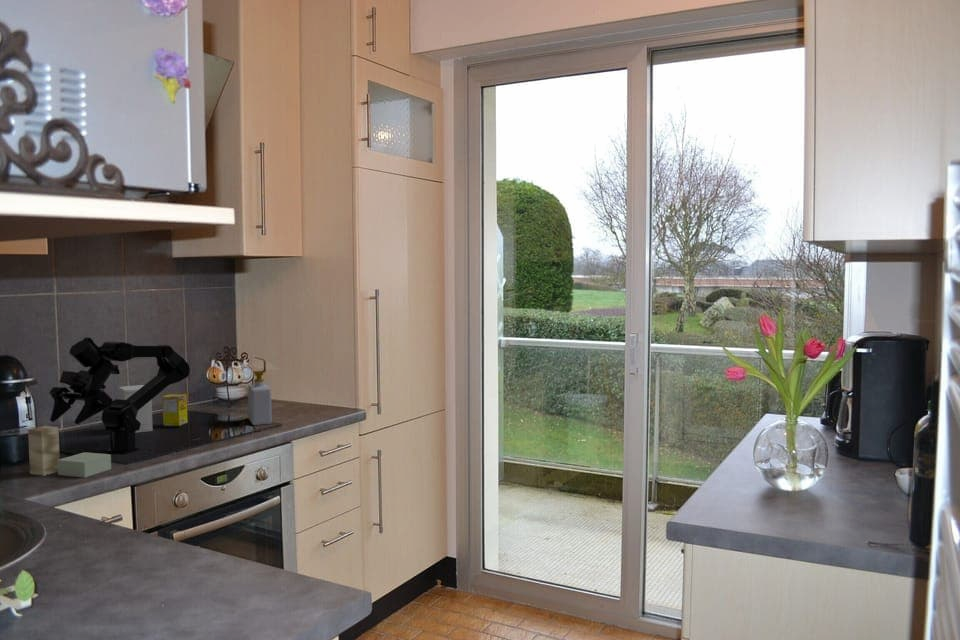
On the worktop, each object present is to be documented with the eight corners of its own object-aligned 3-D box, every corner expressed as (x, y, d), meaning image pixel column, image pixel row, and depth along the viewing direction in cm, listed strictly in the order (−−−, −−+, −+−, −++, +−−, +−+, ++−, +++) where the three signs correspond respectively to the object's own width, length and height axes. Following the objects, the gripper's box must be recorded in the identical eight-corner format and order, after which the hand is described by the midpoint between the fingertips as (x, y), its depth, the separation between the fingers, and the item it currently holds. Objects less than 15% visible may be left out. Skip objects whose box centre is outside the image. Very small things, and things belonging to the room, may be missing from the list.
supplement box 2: (124, 434, 250) (122, 389, 250) (118, 430, 258) (117, 386, 257) (153, 431, 256) (151, 387, 255) (147, 426, 263) (145, 384, 262)
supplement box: (188, 424, 267) (187, 393, 266) (179, 428, 261) (178, 396, 260) (171, 424, 267) (171, 393, 266) (163, 427, 261) (162, 396, 260)
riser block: (111, 468, 207) (110, 454, 206) (84, 477, 198) (84, 462, 198) (85, 466, 209) (84, 452, 209) (58, 474, 201) (57, 460, 201)
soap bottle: (248, 419, 275) (246, 355, 274) (267, 418, 278) (265, 354, 276) (252, 425, 264) (251, 359, 262) (272, 424, 267) (270, 358, 265)
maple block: (46, 469, 207) (45, 425, 206) (60, 471, 205) (58, 427, 204) (30, 473, 202) (28, 429, 201) (43, 475, 200) (41, 430, 199)
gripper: (54, 358, 216) (19, 403, 206) (102, 361, 209) (69, 407, 199) (78, 382, 223) (46, 426, 214) (126, 385, 217) (95, 431, 207)
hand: (63, 422), depth 208 cm, fingers open, 9 cm apart
